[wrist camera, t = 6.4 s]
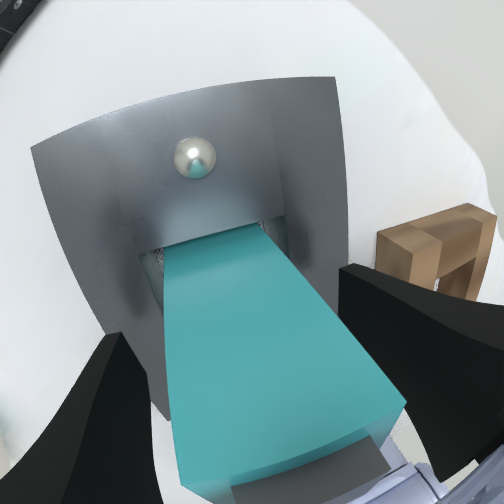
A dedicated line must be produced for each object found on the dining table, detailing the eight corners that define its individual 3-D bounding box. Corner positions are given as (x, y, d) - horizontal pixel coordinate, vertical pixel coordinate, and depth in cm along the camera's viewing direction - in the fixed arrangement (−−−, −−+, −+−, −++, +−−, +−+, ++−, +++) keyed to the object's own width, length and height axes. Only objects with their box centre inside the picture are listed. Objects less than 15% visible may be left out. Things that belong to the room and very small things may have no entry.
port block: (319, 334, 17) (344, 370, 14) (164, 381, 15) (168, 425, 12) (297, 85, 10) (339, 75, 7) (63, 141, 9) (26, 148, 6)
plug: (258, 279, 14) (381, 487, 4) (187, 300, 13) (243, 538, 4) (245, 210, 12) (433, 436, 3) (164, 232, 11) (191, 530, 2)
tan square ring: (447, 305, 21) (467, 322, 18) (365, 351, 19) (385, 377, 17) (467, 202, 16) (497, 216, 14) (377, 231, 15) (413, 254, 12)
